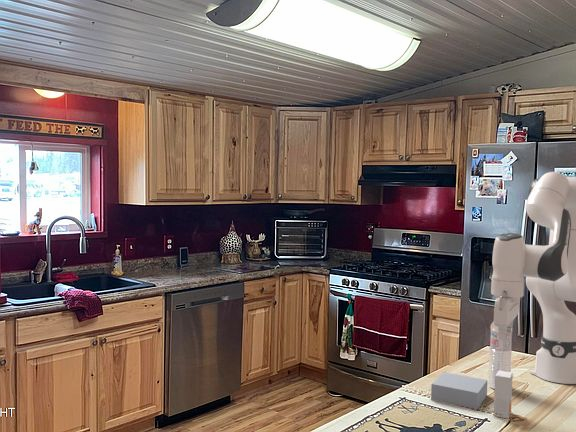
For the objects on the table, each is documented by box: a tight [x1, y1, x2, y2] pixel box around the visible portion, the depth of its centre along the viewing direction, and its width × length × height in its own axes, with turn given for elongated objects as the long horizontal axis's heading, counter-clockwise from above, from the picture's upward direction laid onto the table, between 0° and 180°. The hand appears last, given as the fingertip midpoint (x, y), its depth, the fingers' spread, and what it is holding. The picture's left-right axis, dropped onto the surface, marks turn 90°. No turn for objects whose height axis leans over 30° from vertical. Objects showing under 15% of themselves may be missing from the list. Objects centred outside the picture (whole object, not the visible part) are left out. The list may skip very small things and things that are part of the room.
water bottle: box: [488, 320, 513, 390], centre depth 182 cm, size 7×7×25 cm
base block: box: [430, 371, 488, 410], centre depth 172 cm, size 14×14×5 cm
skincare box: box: [493, 370, 514, 420], centre depth 159 cm, size 6×4×12 cm
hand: (505, 336), depth 159 cm, fingers open, 8 cm apart
